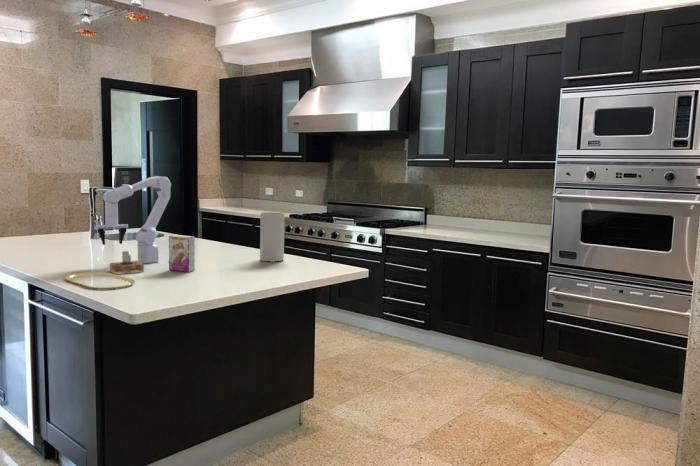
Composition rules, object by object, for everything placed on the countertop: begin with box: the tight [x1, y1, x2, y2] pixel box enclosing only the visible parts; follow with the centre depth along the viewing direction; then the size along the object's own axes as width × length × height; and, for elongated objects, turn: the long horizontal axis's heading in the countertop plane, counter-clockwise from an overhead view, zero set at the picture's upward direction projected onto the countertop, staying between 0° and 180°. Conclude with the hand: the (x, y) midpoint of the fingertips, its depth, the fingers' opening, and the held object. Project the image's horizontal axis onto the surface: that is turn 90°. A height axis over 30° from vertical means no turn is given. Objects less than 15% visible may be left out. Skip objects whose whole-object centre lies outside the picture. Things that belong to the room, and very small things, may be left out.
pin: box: [121, 250, 132, 265], centre depth 250 cm, size 4×4×8 cm
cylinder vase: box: [259, 211, 285, 263], centre depth 289 cm, size 12×12×25 cm
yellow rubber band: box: [65, 271, 135, 290], centre depth 227 cm, size 19×35×2 cm, turn 52°
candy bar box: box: [168, 234, 196, 273], centre depth 254 cm, size 11×5×16 cm, turn 71°
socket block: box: [109, 260, 145, 275], centre depth 250 cm, size 12×10×4 cm
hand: (112, 244), depth 261 cm, fingers open, 7 cm apart
